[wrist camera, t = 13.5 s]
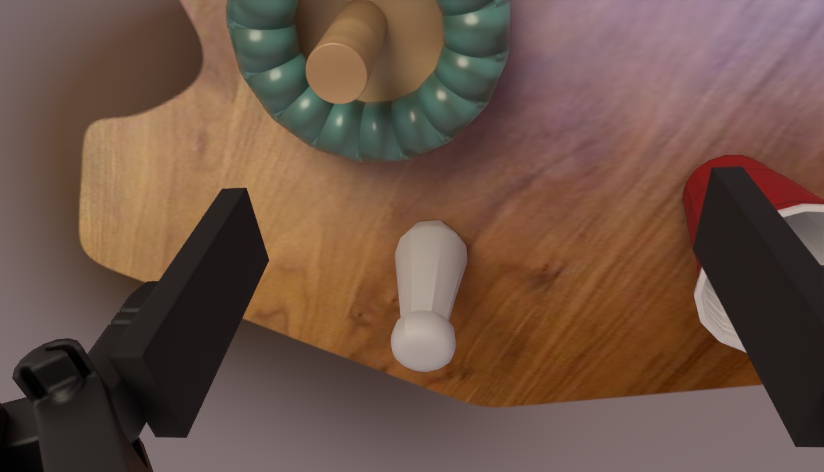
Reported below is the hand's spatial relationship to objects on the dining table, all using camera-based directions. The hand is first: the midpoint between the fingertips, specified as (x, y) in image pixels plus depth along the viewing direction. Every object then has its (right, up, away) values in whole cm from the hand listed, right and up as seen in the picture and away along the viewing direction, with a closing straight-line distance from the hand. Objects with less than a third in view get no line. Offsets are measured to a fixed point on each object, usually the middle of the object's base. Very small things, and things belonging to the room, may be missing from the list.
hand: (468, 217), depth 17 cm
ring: (-4, +12, +18) cm, 22 cm away
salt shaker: (0, -1, +31) cm, 31 cm away
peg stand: (-5, +14, +21) cm, 25 cm away
